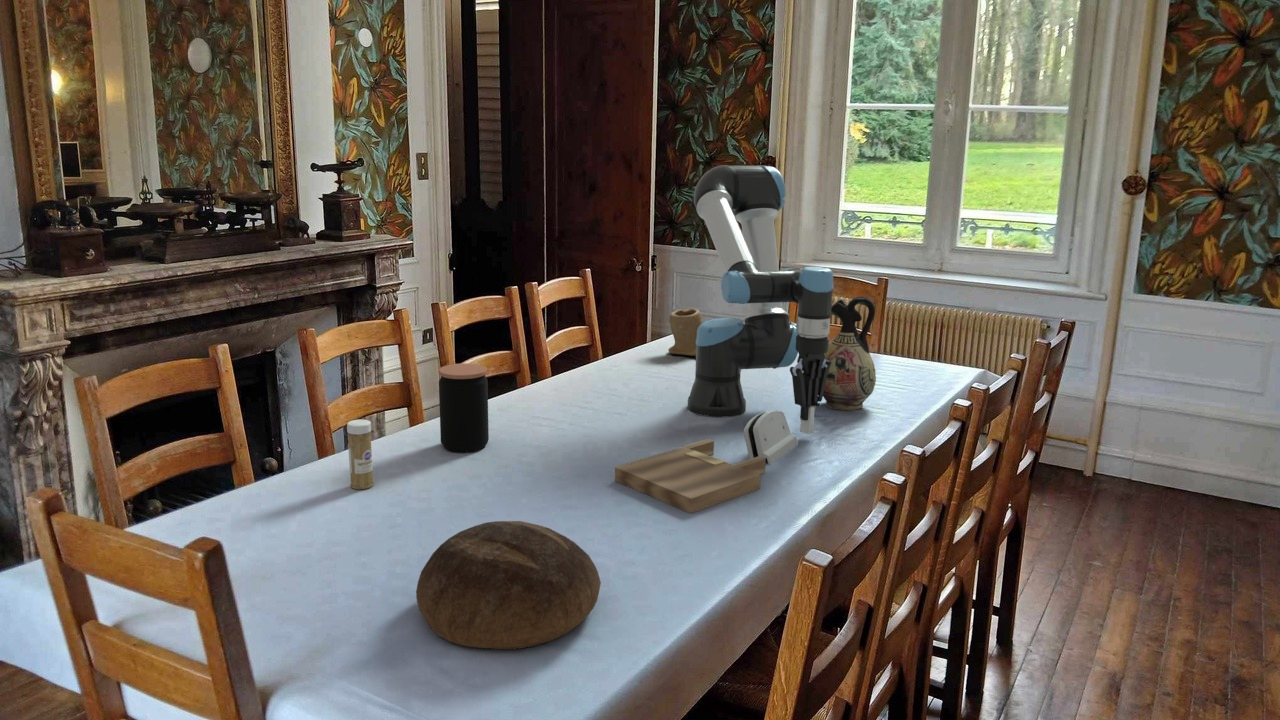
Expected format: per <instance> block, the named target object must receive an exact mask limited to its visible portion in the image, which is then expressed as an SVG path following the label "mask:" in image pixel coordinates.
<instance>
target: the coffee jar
mask: <svg viewBox="0 0 1280 720" xmlns="http://www.w3.org/2000/svg"><path fill="white" fill-rule="evenodd" d="M486 374H488V368H487V367H486V366H484V365H481V364H478V363H477V364H476V363H453V364H448V365H444V366H441V367H439V369H438V375H439V376H440V378H439V380H438V393H439V394H438V398H439V402H438V403H439V404H438V405H439V428H440V443H441V445H442V447H443V448H444V450H446V451H448V452H451V453H459V454H460V453H461V454H462V453H463V454H465V453H466V452H468V453H475V452H478V451H481V450H483V449H484V448H485V447H486V446H487V444H488V442H489V438H490V437H489V435H490V433H489V395H488V394H489V393H488V392H489V389H488V388H489V387H488V381H489V379H488V378H487V376H486ZM466 454H467V453H466Z"/></svg>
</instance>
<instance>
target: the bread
mask: <svg viewBox="0 0 1280 720" xmlns="http://www.w3.org/2000/svg"><path fill="white" fill-rule="evenodd" d="M600 578H601V577H600V575H599V571H598V568H597V567H596V565H595V563H594V562H593V559H592V558H591V557H590V555H589V554H588V553H587V552H586V551H585V550H584V549H583V548H582V547H580V546H579V545H578V544H577V543H576V542H575V541H573V540H572V539H570V538H568V537H567V536H566V535H564V534H562V533H559V532H557V531H555V530H553V529H552V528H549V527H547V526H543V525H538V524H536V523H531V522H526V521H521V520H497V521H488V522H483V523H481V524H476V525H474V526H471V527H469V528H466V529H464V530H461V531H459V532H457V533H456V534H454V535H452V536H451V537H449V538H447V539H446V540H445V541H444V542H442V544H440V545H439V546H438V548H436V550H435V551H434V552H432V554H431V555H430V558H429V559H428V561H426V564H424V567H423V568H422V570H421V572H420V574H419V577H418V581H417V585H416V590H415V593H416V594H415V595H416V603H417V606H418V609H419V612H420V613H421V615H422V617H423V619H424V620H425V621H426V622H427V624H428V626H429V627H430V628H431V629H432V630H433V631H434V632H435V633H436V634H437V636H439V637H440V638H443V639H444V640H445V641H448V642H450V643H452V644H457V645H460V646H464V647H468V646H469V647H468V648H475V647H478V648H479V649H483V648H492V649H491V650H515V649H514V648H519V649H526V648H525V647H528V648H531V647H534V646H538V645H542V644H544V643H548V642H550V641H551V642H552V641H553V640H556V639H558V638H560V637H562V636H564V635H566V634H568V633H569V632H571V631H573V629H575V628H576V627H578V625H580V624H581V623H582V622H583V621H584V620H585V619H586V618H587V617H588V616H589V615H590V613H591V612H592V611H593V610H594V607H595V606H596V604H597V601H598V599H599V595H600V594H599V593H600V589H601V584H602V581H601V579H600ZM530 646H531V647H530ZM478 648H477V649H478ZM493 648H494V649H493Z"/></svg>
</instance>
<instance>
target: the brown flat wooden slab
mask: <svg viewBox="0 0 1280 720" xmlns="http://www.w3.org/2000/svg"><path fill="white" fill-rule="evenodd" d="M714 448H715V441H714V440H712V439H710V438H709V439H708V438H707V439H703V440H699V441H696V442H693V443H689V444H686V445H682V447H679V448H676V449H672V450H669V451H666V452H662V453H658V454H654V455H652V456H649V457H645V458H642V459H637V460H635V461H631V462H627V463H625V464H621V465H618V466H615V467H614V481H615V482H617V483H619V484H622V485H623V486H626V487H628V488H630V489H632V490H635V491H638V492H640V493H643V494H645V495H647V496H650V497H651V498H654V499H657V500H659V501H662V502H663V503H666V504H668V505H670V506H673V507H675V508H677V509H680V510H682V511H684V512H685V513H686V512H687V513H688V514H693V513H695V512H698V511H701V510H704V509H707V508H709V507H712V506H715V505H718V504H720V503H723V502H726V501H729V500H732V499H735V498H738V497H740V496H743V495H746V494H749V493H752V492H754V491H757V490H759V489H760V488H761V476H762V475H761V474H764V473H765V471H766V460H767V458H761V457H759V456H758V457H755V458H752V459H749V458H748V459H747V460H746V459H745V460H743V461H741V462H737V463H734V464H732V463H730V462H727V461H725V460H722V459H719V458H717V457H714V456H711V455H713V454H714V452H715V451H714V450H715V449H714Z"/></svg>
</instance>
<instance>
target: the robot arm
mask: <svg viewBox="0 0 1280 720" xmlns="http://www.w3.org/2000/svg"><path fill="white" fill-rule="evenodd" d="M693 193H694V194H693V203H694V207H695V210H696V213H697V215H698V216H699V218H701V219H702V220H704V222H705V225H706V228H707V230H708V232H709V234H710V238H711V240H712V242H713V245H714V248H715V250H716V253H717V255H718V258H719V260H720V264H721V265H722V268H723V271H724V273H723V274H722V277H721V281H720V289H721V295H722V298H723V300H724V301H725V302H726V303H728V304H738V305H739V304H740V305H745V304H748V308H749V312H748V314H747V315H745V317H744V322H743V320H742V319H741V318H736V317H729V318H728V317H720V318H719V317H718V318H713V319H710V320H709V319H708V320H707V321H703V322H702V324H701V325H700V326H699V327H698V330H697V339H696V356H695V372H694V376H695V377H694V380H693V385H692V387H691V390H690V393H689V396H688V398H687V410H688V411H689V412H690V413H693V414H697V415H700V416H704V417H713V418H729V417H736V416H739V415H742V414H744V413H745V412H746V410H747V409H746V408H747V402H746V398H745V397H744V392H743V387H742V384H741V372H742V370H755V369H780V368H788V367H790V368H789V372H790V374H791V379H792V388H793V389H792V390H793V399H794V405H797V406H800V415H799V417H800V428H799V432H801V433H805V434H807V435H811V434H813V433H814V428H815V426H814V425H815V424H814V423H815V416H816V407H820V405H821V403H820V402H822V401H823V399H824V397H823V393H824V388H825V383H826V379H827V374H828V370H829V368H830V366H831V361H827V360H826V359H825V353H827V352H828V349H829V345H830V337H829V336H828V335H829V334H830V331H831V330H830V329H831V317H832V316H831V315H832V314H831V306H832V303H833V292H834V291H833V290H834V272H833V270H832V269H831V268H828V267H824V266H806V267H802V268H801V269H800V268H795V267H789V268H785V269H783V270H780V269H779V256H778V250H777V239H776V238H777V237H776V227H775V226H776V225H775V219H776V218H777V217H779V215H780V210H781V209H782V208H784V205H785V202H786V197H785V196H786V195H787V193H786V185H785V180H784V178H783V175H782V174H781V172H780V171H779V170H778V168H776V167H774V166H771V165H770V166H769V165H760V164H757V165H727V164H724V165H723V164H721V165H717V166H714V167H713V168H710V169H709V170H707V171H706V172H705V173H704V174H703V175H702V176H701V177H700V179H699V180H698V182H697V184H696V185H695V188H694V192H693ZM739 223H740V224H741V227H740V224H739ZM783 303H796V304H798V305H797V319H796V322H793V321H790V314H789V313H788V312H787V311H786V310H785V309H784V308H783ZM795 360H796V363H797V364H796V365H795V366H791V365H792V364H793V363H794V362H795Z"/></svg>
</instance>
